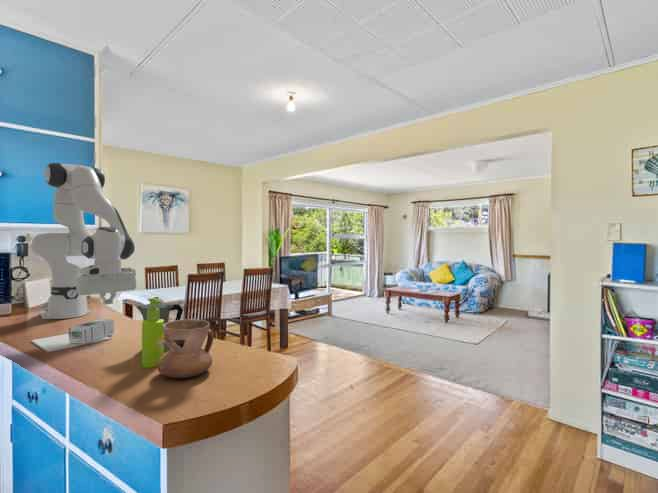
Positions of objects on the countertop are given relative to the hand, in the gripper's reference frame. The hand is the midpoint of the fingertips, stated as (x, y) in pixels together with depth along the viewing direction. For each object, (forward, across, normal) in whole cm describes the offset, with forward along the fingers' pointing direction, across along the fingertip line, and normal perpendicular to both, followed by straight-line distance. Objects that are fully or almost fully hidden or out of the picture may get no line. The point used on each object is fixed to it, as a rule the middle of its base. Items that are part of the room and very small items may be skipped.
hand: (107, 304), depth 136 cm
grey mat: (+12, +12, 0) cm, 17 cm away
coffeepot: (+12, -2, +34) cm, 36 cm away
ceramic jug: (+12, +3, +59) cm, 60 cm away
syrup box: (+8, 0, +1) cm, 8 cm away
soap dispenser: (+12, +6, +46) cm, 48 cm away
